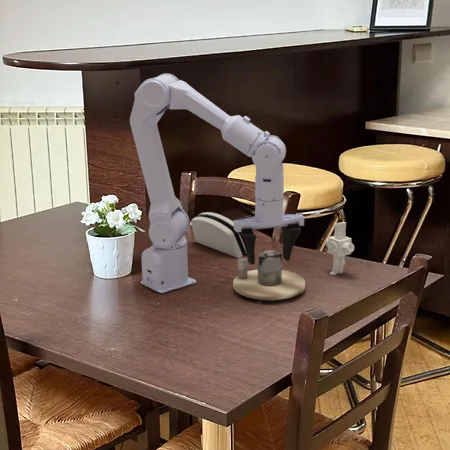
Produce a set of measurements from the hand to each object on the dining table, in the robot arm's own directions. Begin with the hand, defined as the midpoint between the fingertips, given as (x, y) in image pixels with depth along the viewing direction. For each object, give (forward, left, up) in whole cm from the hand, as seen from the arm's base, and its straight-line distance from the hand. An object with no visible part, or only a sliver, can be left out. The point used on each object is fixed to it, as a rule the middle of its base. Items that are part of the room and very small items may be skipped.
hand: (268, 261), depth 160 cm
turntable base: (0, 0, -7) cm, 7 cm away
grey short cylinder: (0, 0, -5) cm, 5 cm away
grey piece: (+9, +28, -7) cm, 30 cm away
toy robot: (+18, -3, -7) cm, 19 cm away
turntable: (0, 0, -7) cm, 7 cm away
